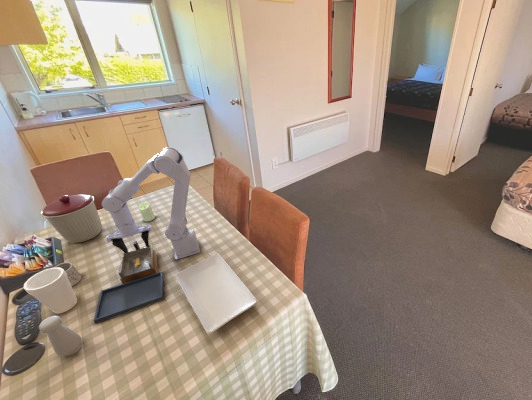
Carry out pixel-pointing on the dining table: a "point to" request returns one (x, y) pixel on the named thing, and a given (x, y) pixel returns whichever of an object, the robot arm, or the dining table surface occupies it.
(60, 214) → the canister
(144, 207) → the candle
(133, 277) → the shallow wooden box
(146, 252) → the dish
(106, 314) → the tray
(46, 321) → the salt shaker
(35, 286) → the foam cup
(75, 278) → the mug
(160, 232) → the dining table surface
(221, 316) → the tray
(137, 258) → the key
